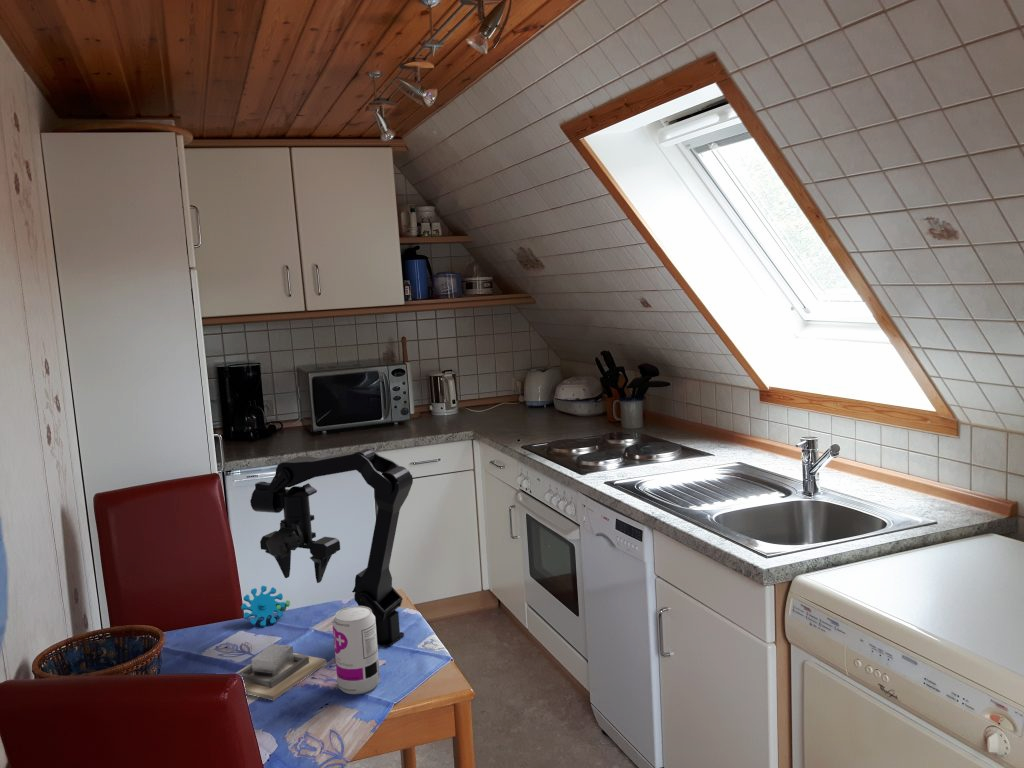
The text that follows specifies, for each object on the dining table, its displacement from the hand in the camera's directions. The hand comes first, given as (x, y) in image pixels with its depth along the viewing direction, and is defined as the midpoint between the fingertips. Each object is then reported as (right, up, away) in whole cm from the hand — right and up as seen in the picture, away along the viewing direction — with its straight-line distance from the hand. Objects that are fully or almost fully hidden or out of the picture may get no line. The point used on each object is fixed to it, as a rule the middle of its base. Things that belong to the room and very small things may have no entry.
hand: (302, 579), depth 189 cm
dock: (-1, -15, -20) cm, 25 cm away
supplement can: (+18, -15, -25) cm, 34 cm away
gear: (-10, -12, +8) cm, 18 cm away
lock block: (-1, -14, -20) cm, 24 cm away
